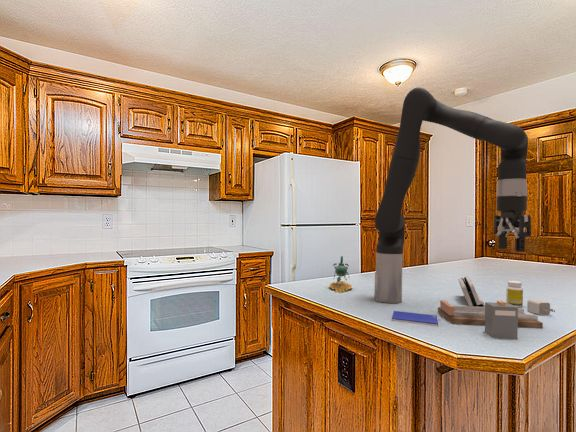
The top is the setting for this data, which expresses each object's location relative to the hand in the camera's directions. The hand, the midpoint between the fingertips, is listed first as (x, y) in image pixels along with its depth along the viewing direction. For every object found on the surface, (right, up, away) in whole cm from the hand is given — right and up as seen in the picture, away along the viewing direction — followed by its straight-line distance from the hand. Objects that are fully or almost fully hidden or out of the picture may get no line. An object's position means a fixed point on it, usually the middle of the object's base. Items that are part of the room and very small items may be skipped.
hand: (510, 250), depth 99 cm
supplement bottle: (+14, -22, +19) cm, 32 cm away
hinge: (+1, -22, +24) cm, 32 cm away
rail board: (-6, -21, +1) cm, 22 cm away
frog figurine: (-43, -21, +42) cm, 64 cm away
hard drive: (-28, -21, 0) cm, 35 cm away
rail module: (-11, -21, -12) cm, 26 cm away
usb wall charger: (+15, -22, +8) cm, 28 cm away
